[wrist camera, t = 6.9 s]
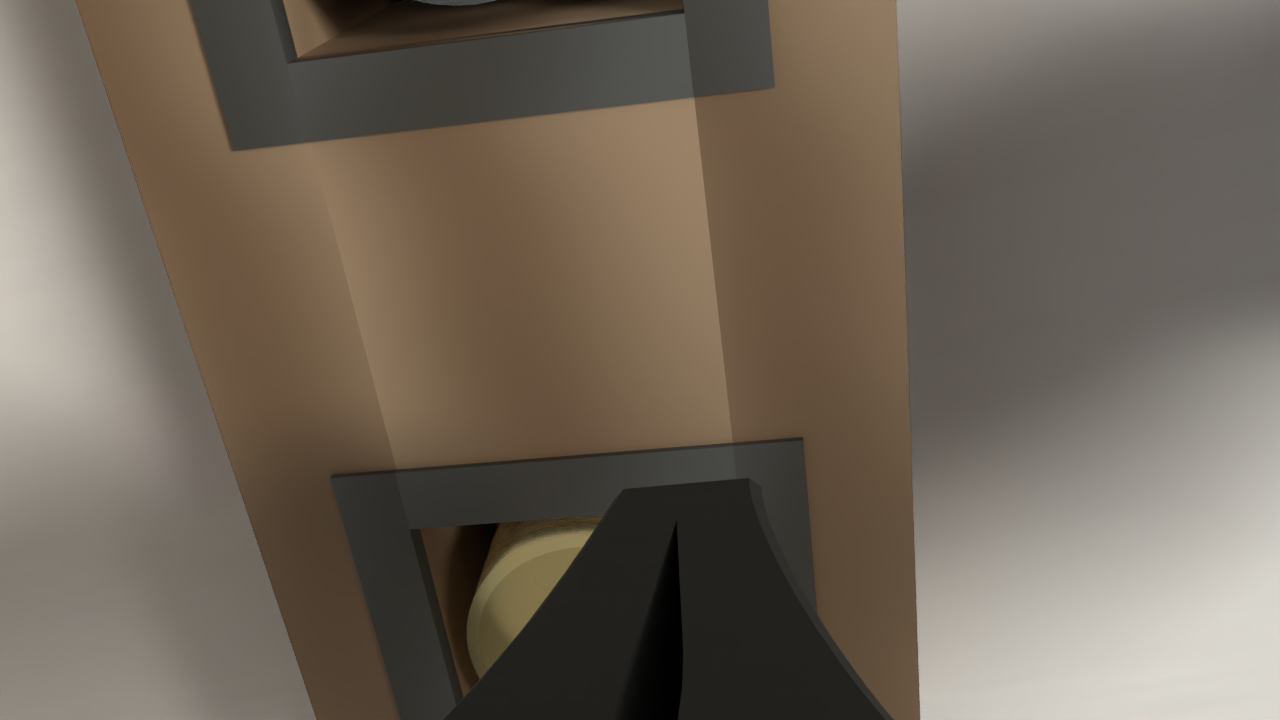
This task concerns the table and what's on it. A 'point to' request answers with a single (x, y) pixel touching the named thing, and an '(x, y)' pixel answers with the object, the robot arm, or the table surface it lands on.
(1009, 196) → the table surface
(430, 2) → the steel peg
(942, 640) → the table surface
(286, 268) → the wooden block
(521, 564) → the brass peg
